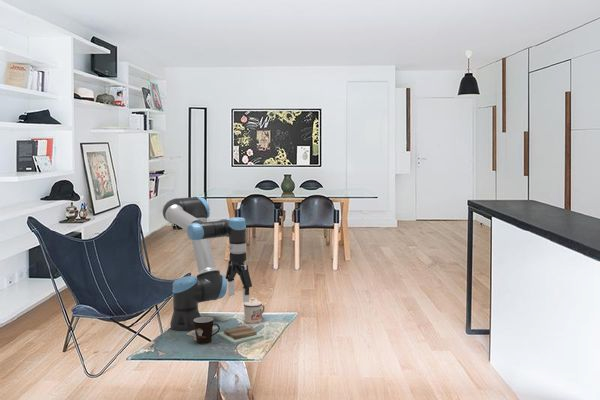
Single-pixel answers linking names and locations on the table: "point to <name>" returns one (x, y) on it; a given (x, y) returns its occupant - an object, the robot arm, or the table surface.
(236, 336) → the walnut lid
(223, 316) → the table surface
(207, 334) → the coffee mug
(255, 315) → the teacup with lid
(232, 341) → the sage mat
